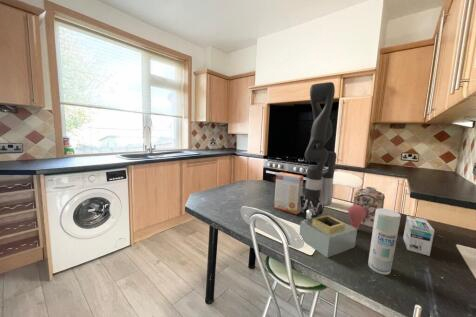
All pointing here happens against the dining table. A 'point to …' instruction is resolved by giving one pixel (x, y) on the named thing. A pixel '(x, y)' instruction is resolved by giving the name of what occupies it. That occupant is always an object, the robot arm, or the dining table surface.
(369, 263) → the spray can
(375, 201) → the decorative jar
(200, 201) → the dining table surface
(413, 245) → the light bulb box
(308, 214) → the pellet
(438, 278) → the dining table surface
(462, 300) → the dining table surface
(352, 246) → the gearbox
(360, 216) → the light bulb
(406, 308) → the dining table surface
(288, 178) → the cracker box
